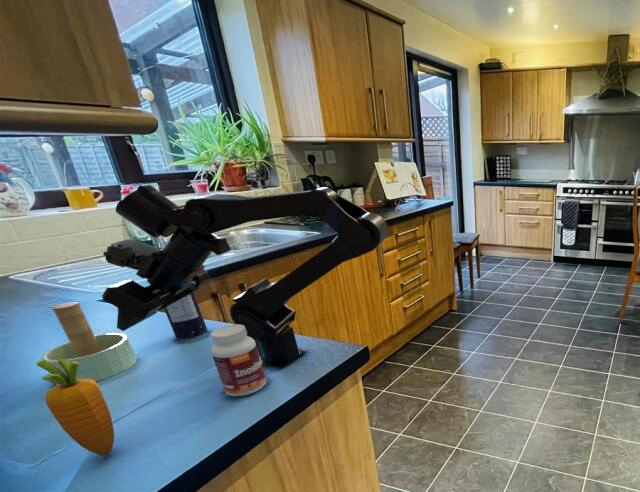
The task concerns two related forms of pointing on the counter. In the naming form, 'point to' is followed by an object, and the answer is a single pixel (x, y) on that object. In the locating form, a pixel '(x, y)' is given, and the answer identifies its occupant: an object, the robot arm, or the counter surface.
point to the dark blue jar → (186, 318)
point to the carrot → (79, 407)
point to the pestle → (77, 328)
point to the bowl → (96, 357)
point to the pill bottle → (237, 360)
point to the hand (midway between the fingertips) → (139, 318)
